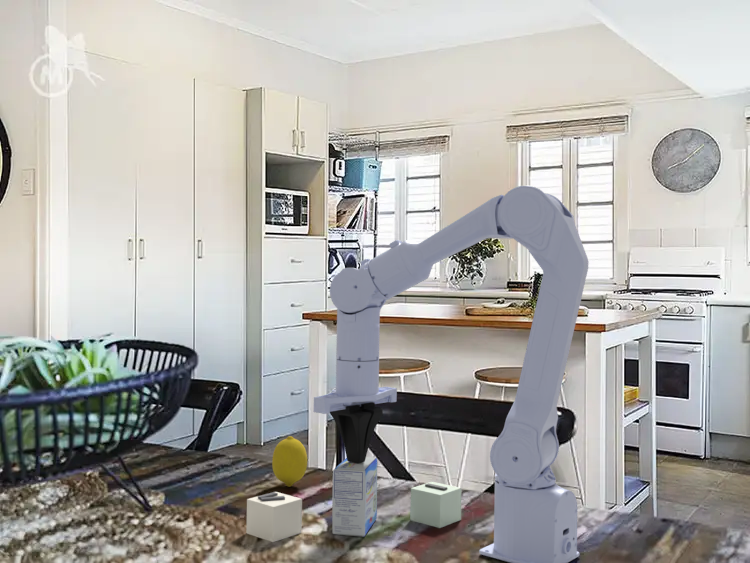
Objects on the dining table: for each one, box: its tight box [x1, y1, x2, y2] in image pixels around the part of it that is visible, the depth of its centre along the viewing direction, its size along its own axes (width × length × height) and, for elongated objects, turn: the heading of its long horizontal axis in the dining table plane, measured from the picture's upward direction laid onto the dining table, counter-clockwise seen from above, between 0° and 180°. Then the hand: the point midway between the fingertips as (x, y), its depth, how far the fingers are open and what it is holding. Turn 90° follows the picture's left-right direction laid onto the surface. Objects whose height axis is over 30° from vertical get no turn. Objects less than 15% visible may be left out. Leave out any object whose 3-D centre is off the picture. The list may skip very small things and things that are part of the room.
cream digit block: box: [245, 491, 303, 543], centre depth 102 cm, size 5×5×5 cm
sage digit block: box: [409, 481, 462, 529], centre depth 109 cm, size 5×5×5 cm
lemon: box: [271, 435, 308, 487], centre depth 125 cm, size 6×6×8 cm
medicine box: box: [331, 456, 378, 538], centre depth 105 cm, size 8×4×9 cm, turn 168°
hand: (356, 461), depth 105 cm, fingers closed
